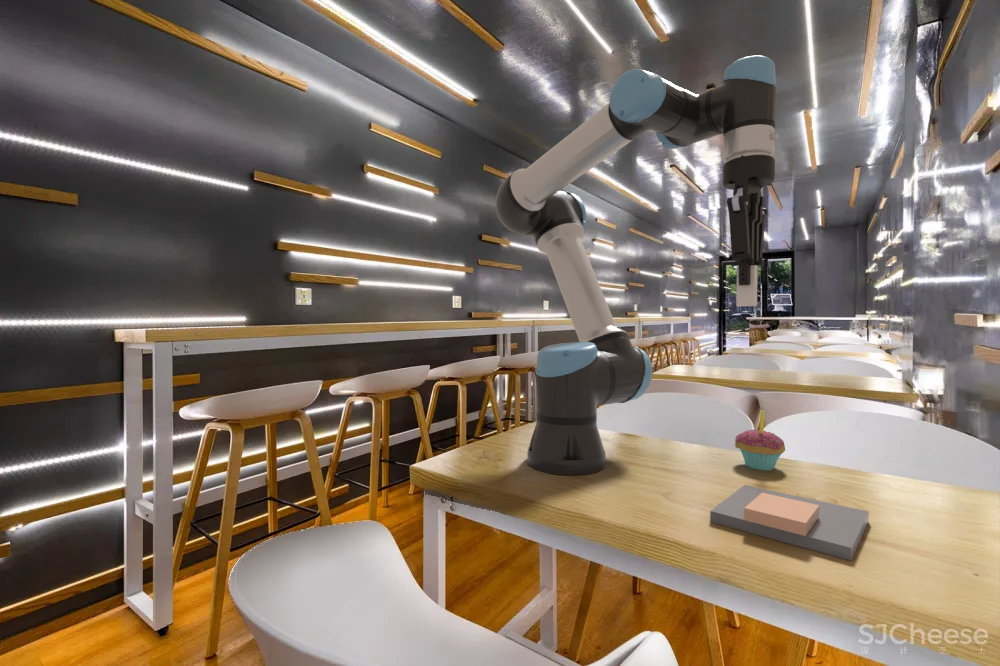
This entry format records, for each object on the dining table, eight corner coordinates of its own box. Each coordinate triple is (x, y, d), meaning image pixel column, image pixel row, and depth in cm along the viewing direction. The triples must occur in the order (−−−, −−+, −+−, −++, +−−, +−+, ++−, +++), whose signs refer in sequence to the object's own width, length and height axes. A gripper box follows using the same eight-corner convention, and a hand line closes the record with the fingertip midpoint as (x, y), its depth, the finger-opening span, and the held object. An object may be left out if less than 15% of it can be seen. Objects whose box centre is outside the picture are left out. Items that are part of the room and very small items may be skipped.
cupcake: (792, 475, 88) (793, 409, 88) (741, 472, 90) (742, 408, 89) (775, 462, 96) (776, 402, 96) (729, 459, 98) (729, 400, 98)
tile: (761, 504, 70) (744, 521, 64) (761, 492, 70) (744, 508, 64) (819, 518, 65) (805, 537, 59) (819, 505, 65) (805, 523, 59)
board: (710, 521, 67) (710, 511, 67) (744, 494, 78) (744, 484, 78) (851, 560, 56) (851, 547, 56) (868, 522, 67) (868, 511, 67)
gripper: (762, 143, 71) (760, 304, 72) (784, 164, 81) (782, 306, 81) (709, 155, 76) (708, 305, 77) (737, 174, 86) (735, 307, 86)
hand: (746, 305), depth 79 cm, fingers closed
